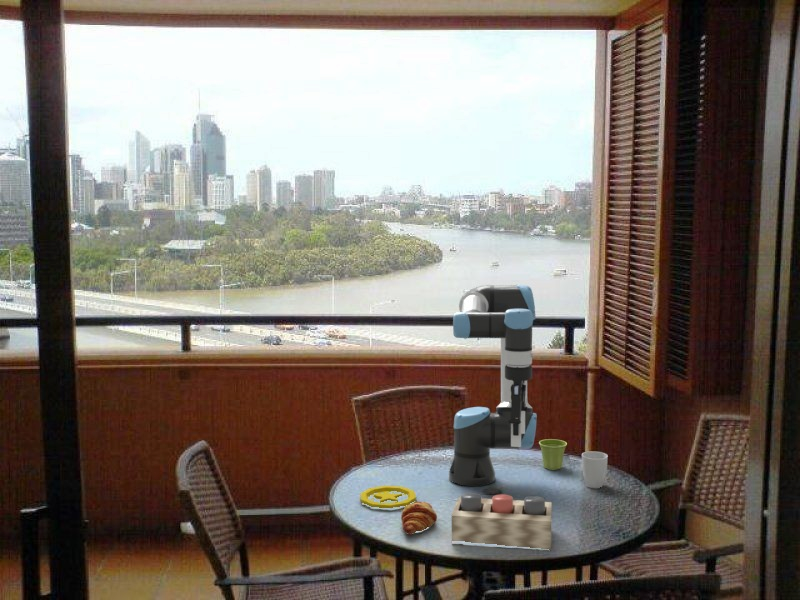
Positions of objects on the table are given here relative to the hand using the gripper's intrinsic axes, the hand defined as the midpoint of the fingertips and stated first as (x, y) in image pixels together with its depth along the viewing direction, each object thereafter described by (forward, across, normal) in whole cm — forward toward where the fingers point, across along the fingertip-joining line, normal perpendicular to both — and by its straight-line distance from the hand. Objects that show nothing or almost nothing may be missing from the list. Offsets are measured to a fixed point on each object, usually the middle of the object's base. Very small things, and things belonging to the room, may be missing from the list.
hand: (518, 439), depth 230 cm
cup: (+24, +36, -21) cm, 49 cm away
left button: (+18, -11, +12) cm, 24 cm away
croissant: (+25, -6, +27) cm, 37 cm away
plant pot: (+24, +52, -7) cm, 58 cm away
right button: (+18, -10, -5) cm, 22 cm away
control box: (+24, -10, +3) cm, 27 cm away
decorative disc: (+25, +11, +40) cm, 49 cm away
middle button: (+18, -10, +3) cm, 21 cm away
